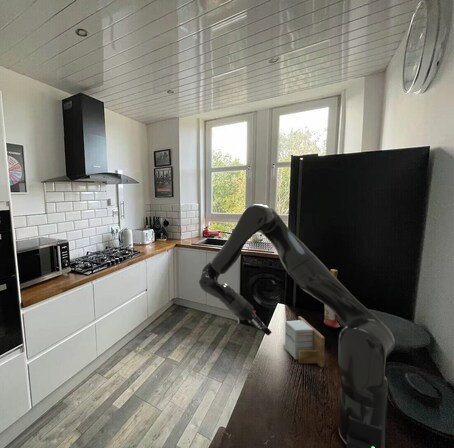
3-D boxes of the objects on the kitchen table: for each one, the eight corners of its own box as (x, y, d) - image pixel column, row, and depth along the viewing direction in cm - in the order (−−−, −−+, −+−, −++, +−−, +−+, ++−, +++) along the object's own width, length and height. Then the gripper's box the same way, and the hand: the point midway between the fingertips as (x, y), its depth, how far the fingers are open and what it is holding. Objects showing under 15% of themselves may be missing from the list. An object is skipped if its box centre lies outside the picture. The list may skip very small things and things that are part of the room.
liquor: (319, 323, 123) (320, 268, 119) (331, 321, 124) (333, 267, 121) (332, 330, 116) (334, 273, 112) (345, 328, 117) (347, 271, 113)
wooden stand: (303, 367, 93) (303, 338, 92) (282, 342, 109) (282, 316, 107) (323, 367, 93) (324, 337, 91) (300, 342, 109) (300, 316, 107)
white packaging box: (284, 348, 105) (284, 320, 103) (301, 347, 105) (302, 319, 103) (294, 360, 97) (295, 330, 96) (313, 358, 97) (314, 328, 96)
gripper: (250, 306, 92) (283, 335, 93) (239, 292, 105) (268, 318, 106) (236, 320, 93) (269, 349, 94) (227, 304, 106) (256, 330, 107)
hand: (269, 333), depth 100 cm, fingers closed
